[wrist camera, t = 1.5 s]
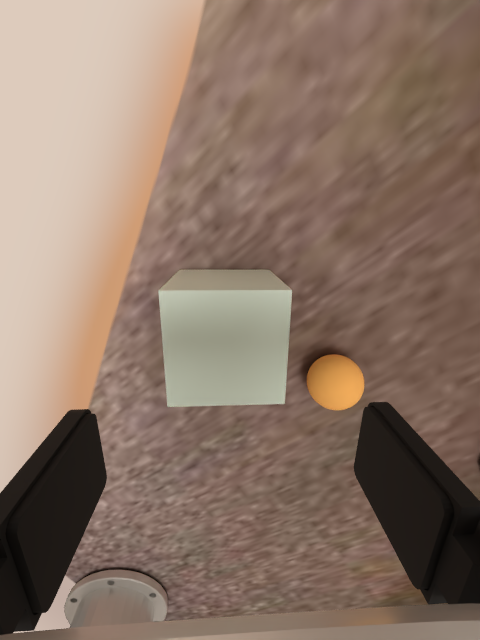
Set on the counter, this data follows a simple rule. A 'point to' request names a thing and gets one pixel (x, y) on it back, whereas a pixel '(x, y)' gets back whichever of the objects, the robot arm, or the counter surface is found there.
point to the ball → (335, 382)
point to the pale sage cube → (225, 337)
